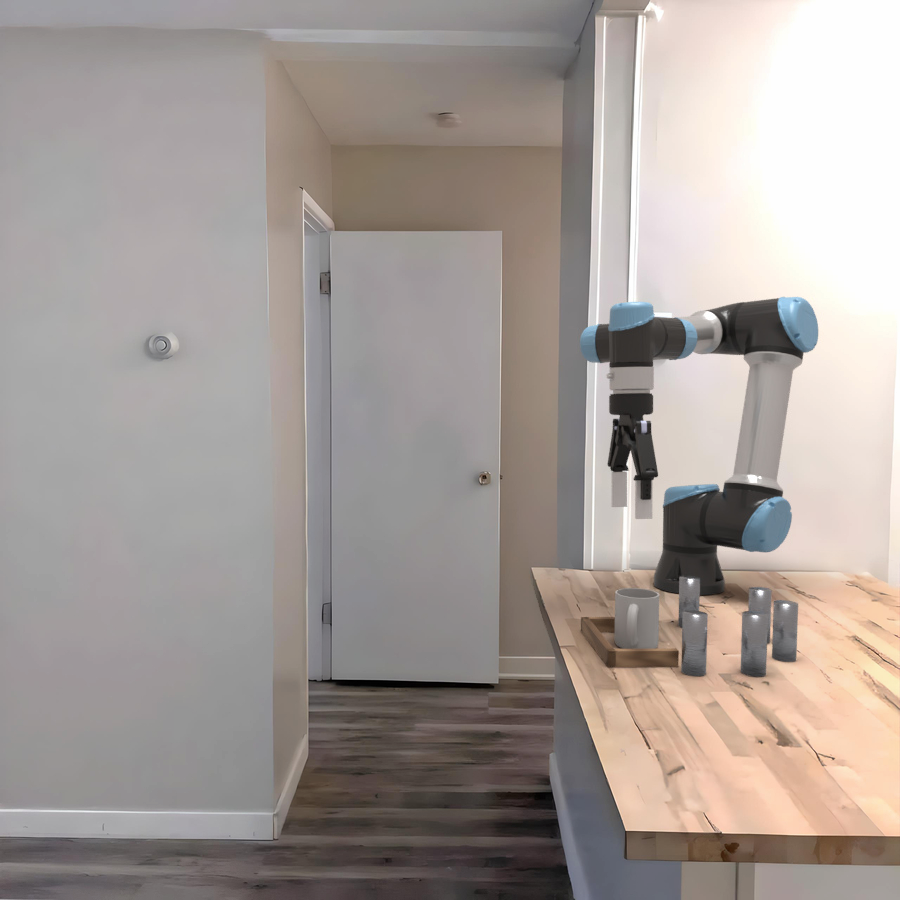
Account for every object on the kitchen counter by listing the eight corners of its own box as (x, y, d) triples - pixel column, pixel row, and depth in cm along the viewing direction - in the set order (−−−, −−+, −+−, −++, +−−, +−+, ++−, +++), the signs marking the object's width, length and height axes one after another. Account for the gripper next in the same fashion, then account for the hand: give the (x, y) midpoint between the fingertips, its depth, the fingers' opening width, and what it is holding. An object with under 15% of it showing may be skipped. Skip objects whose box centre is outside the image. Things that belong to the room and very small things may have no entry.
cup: (660, 641, 129) (662, 590, 129) (653, 659, 120) (654, 604, 119) (618, 636, 132) (619, 586, 131) (607, 653, 123) (608, 599, 122)
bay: (641, 630, 136) (641, 616, 136) (678, 666, 117) (678, 650, 116) (580, 630, 135) (581, 616, 135) (608, 667, 116) (608, 651, 116)
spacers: (741, 623, 141) (743, 575, 140) (822, 676, 113) (824, 617, 112) (633, 623, 140) (634, 575, 139) (687, 677, 112) (688, 617, 111)
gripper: (591, 392, 144) (591, 502, 146) (632, 392, 119) (632, 524, 121) (629, 392, 145) (629, 501, 146) (679, 391, 120) (678, 523, 121)
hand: (630, 512), depth 134 cm, fingers open, 13 cm apart
